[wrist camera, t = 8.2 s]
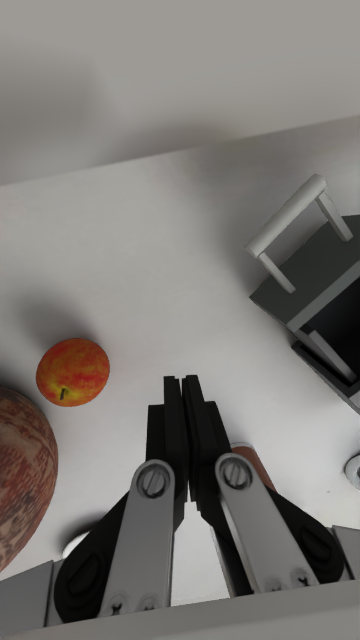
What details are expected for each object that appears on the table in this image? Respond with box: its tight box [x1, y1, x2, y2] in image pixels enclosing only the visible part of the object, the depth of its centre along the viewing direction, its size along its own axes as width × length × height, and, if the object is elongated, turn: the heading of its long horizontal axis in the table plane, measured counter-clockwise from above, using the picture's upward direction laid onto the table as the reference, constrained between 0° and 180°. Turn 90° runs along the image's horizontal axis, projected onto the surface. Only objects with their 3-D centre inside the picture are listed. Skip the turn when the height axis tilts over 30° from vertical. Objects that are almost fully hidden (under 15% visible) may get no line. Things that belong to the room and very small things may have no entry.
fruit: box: [36, 338, 110, 407], centre depth 23 cm, size 7×7×8 cm
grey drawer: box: [244, 174, 360, 386], centre depth 21 cm, size 20×11×8 cm, turn 47°
